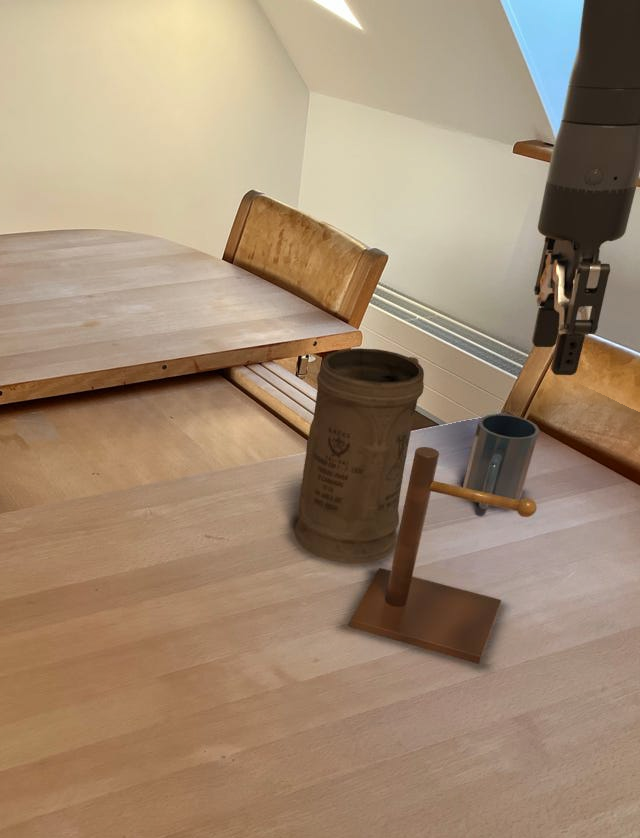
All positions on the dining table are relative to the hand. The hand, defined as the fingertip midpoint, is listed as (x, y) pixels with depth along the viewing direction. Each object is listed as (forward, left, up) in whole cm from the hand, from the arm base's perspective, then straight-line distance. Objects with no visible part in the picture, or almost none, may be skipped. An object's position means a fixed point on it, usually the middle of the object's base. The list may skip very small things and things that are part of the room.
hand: (552, 359), depth 95 cm
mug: (+3, -5, -19) cm, 20 cm away
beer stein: (+15, +9, -19) cm, 26 cm away
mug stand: (+3, +22, -19) cm, 29 cm away
